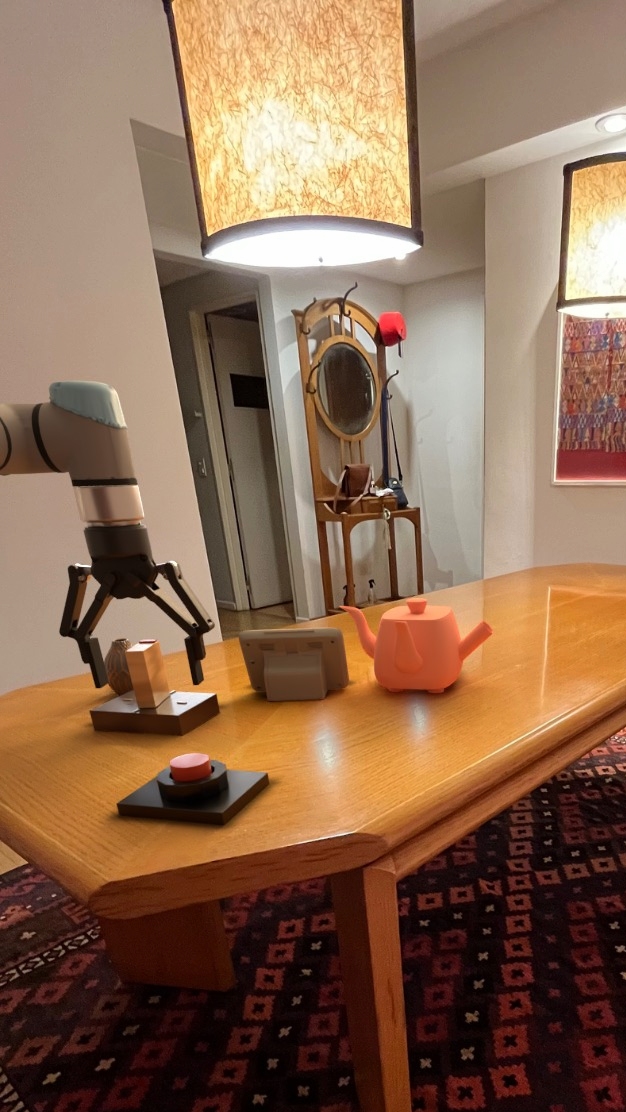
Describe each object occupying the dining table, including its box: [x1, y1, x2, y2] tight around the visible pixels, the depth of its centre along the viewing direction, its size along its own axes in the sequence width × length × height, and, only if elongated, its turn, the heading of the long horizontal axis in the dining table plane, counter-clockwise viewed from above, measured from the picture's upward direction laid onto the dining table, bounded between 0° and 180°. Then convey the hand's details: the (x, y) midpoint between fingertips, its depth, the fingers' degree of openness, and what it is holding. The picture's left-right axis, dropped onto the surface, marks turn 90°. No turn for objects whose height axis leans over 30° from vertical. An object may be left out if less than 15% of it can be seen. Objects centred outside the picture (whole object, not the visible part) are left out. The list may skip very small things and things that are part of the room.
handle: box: [125, 638, 170, 708], centre depth 95 cm, size 6×2×8 cm, turn 2°
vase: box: [103, 637, 134, 696], centre depth 109 cm, size 7×7×9 cm
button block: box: [116, 759, 270, 826], centre depth 72 cm, size 12×10×4 cm
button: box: [169, 752, 212, 781], centre depth 71 cm, size 4×4×2 cm
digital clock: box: [238, 627, 350, 702], centre depth 106 cm, size 16×9×11 cm, turn 81°
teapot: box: [339, 597, 495, 694], centre depth 109 cm, size 18×18×14 cm
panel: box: [88, 689, 221, 737], centre depth 98 cm, size 14×10×3 cm
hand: (150, 684), depth 96 cm, fingers open, 13 cm apart
